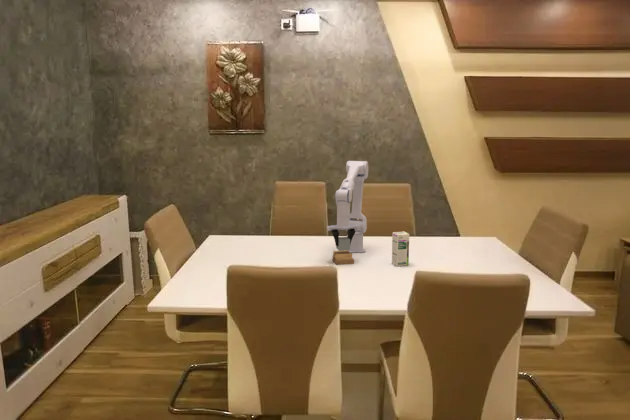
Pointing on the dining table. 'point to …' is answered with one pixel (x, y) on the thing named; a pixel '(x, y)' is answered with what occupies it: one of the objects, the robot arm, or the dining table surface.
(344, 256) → the oak top block
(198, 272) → the dining table surface
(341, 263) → the walnut base block
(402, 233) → the syrup box
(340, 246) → the slate cube
